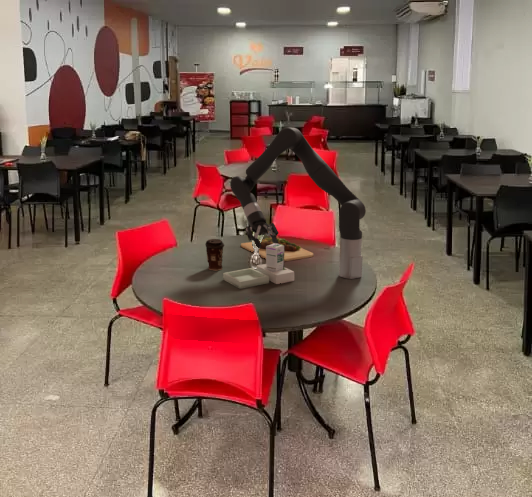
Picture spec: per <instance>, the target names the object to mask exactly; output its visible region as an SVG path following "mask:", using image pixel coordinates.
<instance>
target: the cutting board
mask: <svg viewBox="0 0 532 497" xmlns="http://www.w3.org/2000/svg"><path fill="white" fill-rule="evenodd" d="M276 238H277V240H278V244H282V245H284V262H290V261H294V260H295V261H296V260H302V259H303V260H304V259H309V258H313V257H314V252H311V251H309V250H307V249H304V248H303V247H301V246H300V245H297V244H296V243H294V242H290V241H289V240H286V238H280V237H279V236H278V235H277V236H276ZM261 239H262V238H261ZM252 242H253V241H250V242H249V241H248V242H241V243H240V247H241V248H243V249H245V250H246V251H249V252H250V251H251V253H252V252H253V251H254V249H253V246H252ZM271 244H274V243H273V241H272V238H271V237H265V238H264V239H262V242H261V247H260V249H259V254H260V255H261V258H262V259H264V258H265V260H266V246H268V245H271Z"/></svg>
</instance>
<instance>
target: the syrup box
mask: <svg viewBox="0 0 532 497" xmlns="http://www.w3.org/2000/svg"><path fill="white" fill-rule="evenodd" d="M265 261H266V262H265V264H266V269H267V270H269V271H271V272H276V271H282V270H284V267H285V261H284V245H282V244H276V243H274V244H271V245H268V246H266V259H265Z"/></svg>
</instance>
